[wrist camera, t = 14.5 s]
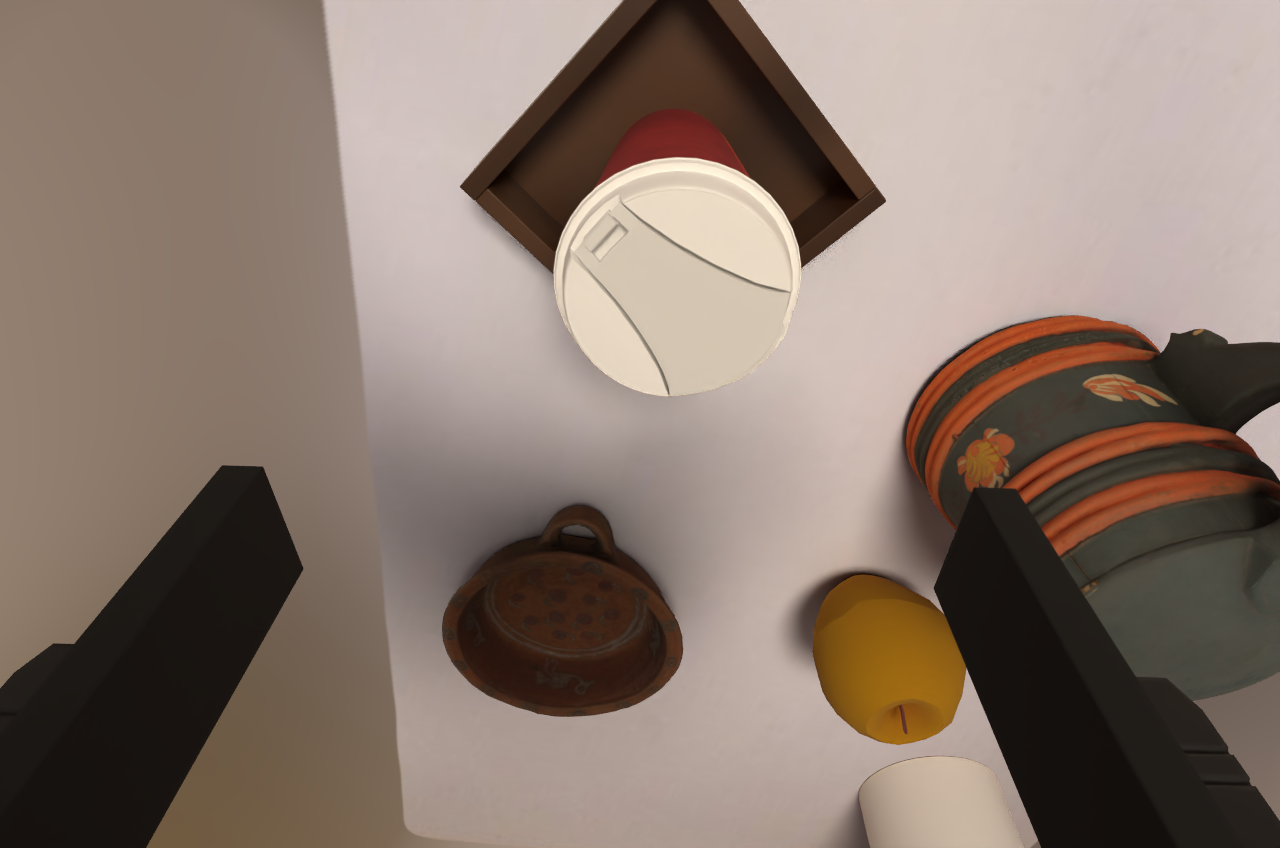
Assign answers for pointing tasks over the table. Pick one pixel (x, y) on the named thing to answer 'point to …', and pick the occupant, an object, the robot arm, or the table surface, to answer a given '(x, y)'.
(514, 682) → the dish
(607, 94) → the square wooden tray
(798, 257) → the coffee cup
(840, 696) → the apple
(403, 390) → the table surface
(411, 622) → the table surface
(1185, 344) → the beer stein
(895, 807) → the canister
